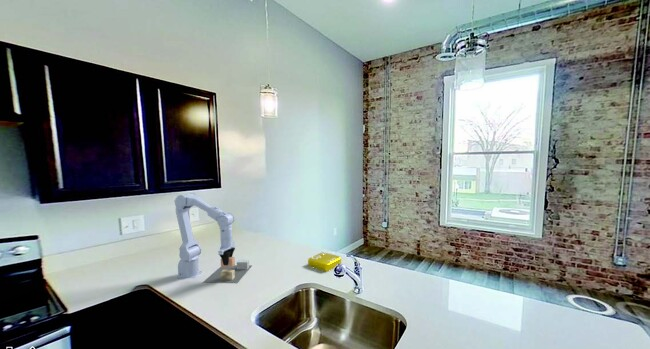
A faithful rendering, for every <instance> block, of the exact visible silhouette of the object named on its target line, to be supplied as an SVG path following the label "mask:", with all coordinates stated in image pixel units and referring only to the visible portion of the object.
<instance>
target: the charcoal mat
mask: <svg viewBox="0 0 650 349" xmlns="http://www.w3.org/2000/svg"><path fill="white" fill-rule="evenodd" d="M252 267H253V265H250V264H249V268H248V269H237V264H236V265H234V266H233V267H221V266H220V267H219V268H217V269H216V270H214V272H213V273H211V274H210V275H209V276H208V277H207V278H206V279H205V280H203V281H202V284H238V283H240V280H241V279H243V277H244V276H245V275H246V273H248V271H249V270H250V269H251V268H252ZM222 270H235V278H234V279H233V280H221V271H222Z"/></svg>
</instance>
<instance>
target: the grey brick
mask: <svg viewBox="0 0 650 349" xmlns="http://www.w3.org/2000/svg"><path fill="white" fill-rule="evenodd" d="M236 265H237V269H248V268H249V265H250V259H249V260H248V259H247V260H245V259H242V260H241V259H240V260H237V262H236Z"/></svg>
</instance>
